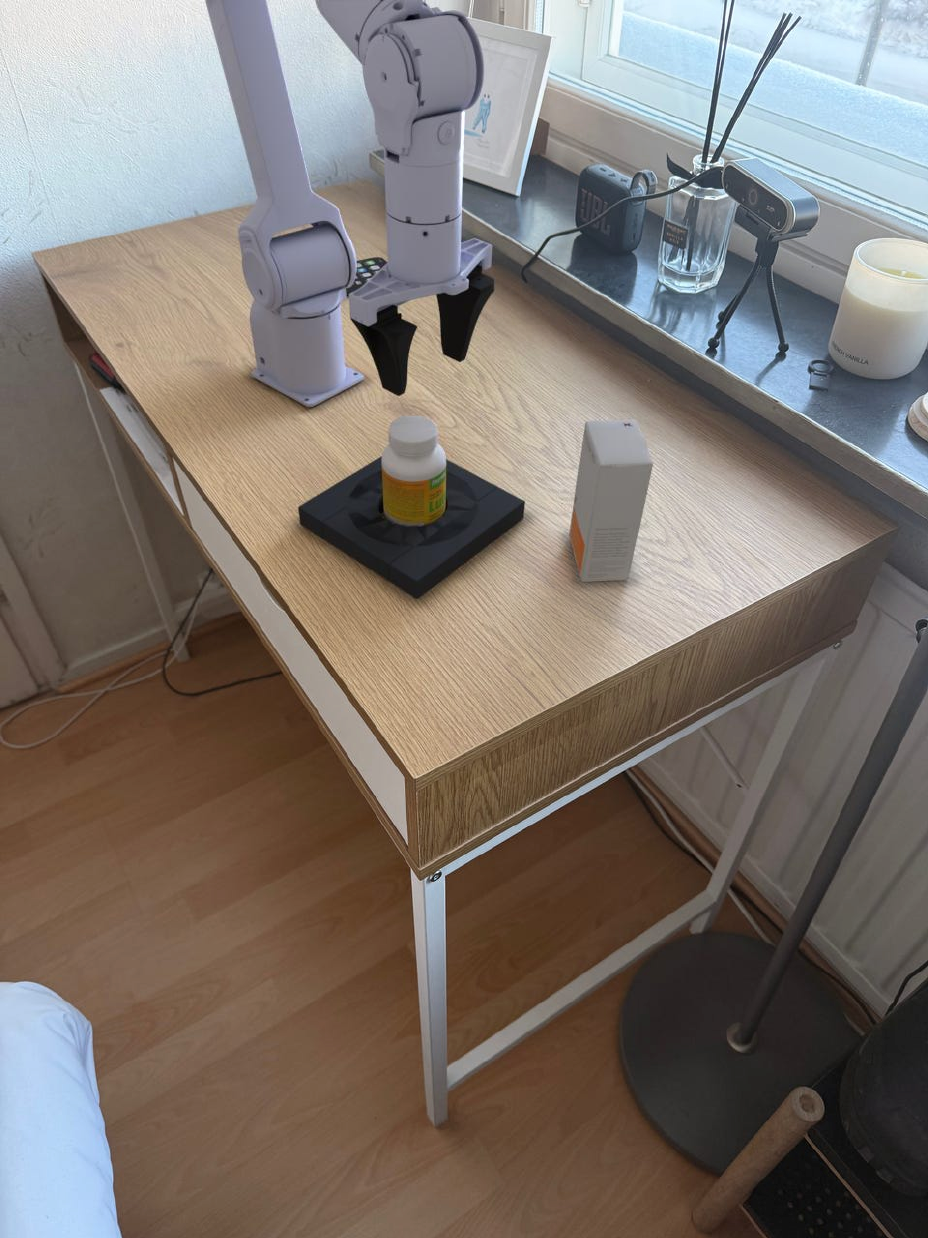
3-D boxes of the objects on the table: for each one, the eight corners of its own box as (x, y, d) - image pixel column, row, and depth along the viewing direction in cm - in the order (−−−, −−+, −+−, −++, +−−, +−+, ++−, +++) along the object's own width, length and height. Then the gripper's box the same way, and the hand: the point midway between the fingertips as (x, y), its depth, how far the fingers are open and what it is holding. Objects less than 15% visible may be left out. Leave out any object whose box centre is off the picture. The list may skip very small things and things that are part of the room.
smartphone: (270, 277, 108) (380, 255, 113) (271, 282, 109) (380, 260, 114) (290, 301, 104) (404, 278, 109) (291, 307, 104) (404, 283, 109)
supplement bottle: (437, 546, 75) (438, 451, 68) (377, 536, 75) (371, 442, 68) (450, 508, 78) (452, 414, 71) (393, 499, 79) (389, 406, 72)
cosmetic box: (566, 536, 76) (584, 418, 67) (614, 535, 76) (637, 417, 68) (579, 584, 72) (599, 464, 63) (629, 582, 72) (656, 463, 63)
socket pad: (300, 524, 76) (297, 506, 75) (409, 456, 84) (409, 438, 82) (417, 599, 70) (416, 581, 68) (523, 518, 78) (525, 500, 76)
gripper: (394, 255, 59) (399, 425, 69) (525, 198, 67) (513, 358, 77) (324, 225, 62) (338, 392, 72) (457, 174, 70) (453, 331, 80)
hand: (424, 373), depth 75 cm, fingers open, 7 cm apart
